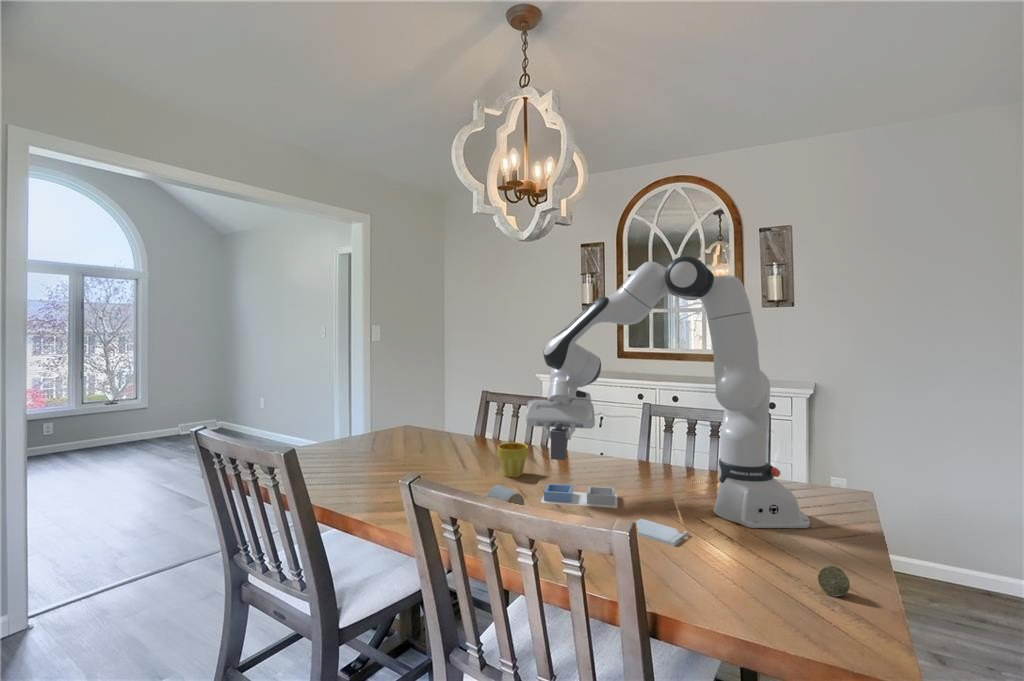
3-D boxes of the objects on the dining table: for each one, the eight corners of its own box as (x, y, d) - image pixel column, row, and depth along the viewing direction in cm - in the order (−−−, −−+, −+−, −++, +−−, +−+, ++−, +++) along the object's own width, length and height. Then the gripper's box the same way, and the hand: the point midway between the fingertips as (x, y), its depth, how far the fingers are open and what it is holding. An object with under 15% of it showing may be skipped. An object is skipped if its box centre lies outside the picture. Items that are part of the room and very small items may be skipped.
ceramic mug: (507, 525, 128) (507, 494, 128) (484, 516, 134) (485, 487, 133) (534, 514, 136) (534, 485, 136) (512, 507, 141) (512, 479, 141)
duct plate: (617, 497, 148) (617, 486, 148) (617, 511, 137) (617, 498, 137) (545, 493, 152) (545, 481, 152) (540, 506, 141) (540, 493, 141)
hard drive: (625, 527, 124) (674, 541, 115) (641, 517, 130) (688, 530, 122) (625, 534, 124) (674, 548, 115) (641, 524, 130) (688, 537, 122)
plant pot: (526, 479, 166) (526, 450, 165) (495, 478, 167) (494, 449, 167) (530, 471, 176) (530, 442, 176) (500, 469, 177) (500, 441, 177)
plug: (566, 456, 147) (566, 422, 147) (564, 460, 143) (565, 425, 143) (552, 455, 148) (552, 421, 148) (550, 459, 144) (550, 424, 144)
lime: (853, 600, 92) (853, 573, 92) (824, 598, 93) (824, 571, 93) (841, 588, 97) (842, 562, 97) (814, 586, 98) (814, 560, 98)
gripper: (527, 391, 154) (521, 430, 145) (595, 393, 150) (593, 433, 141) (529, 404, 158) (523, 442, 149) (595, 406, 154) (594, 445, 145)
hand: (558, 438), depth 145 cm, fingers closed on plug, 4 cm apart
